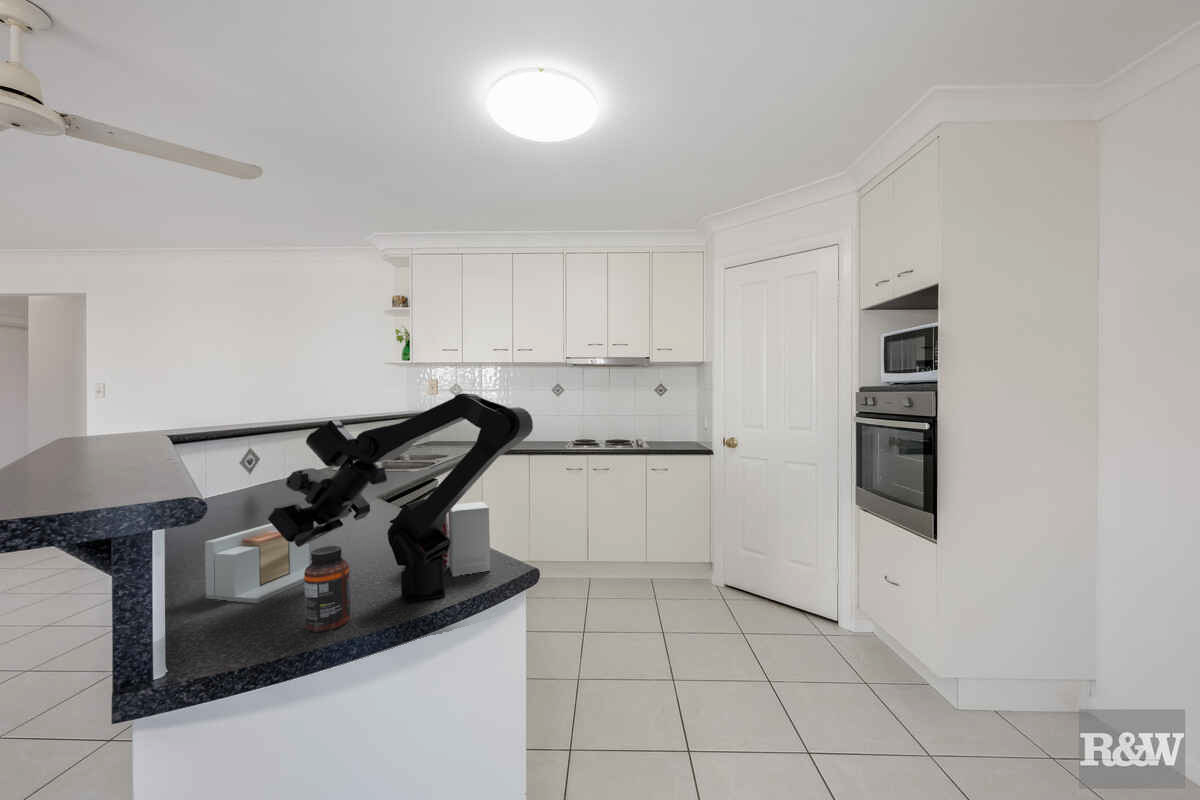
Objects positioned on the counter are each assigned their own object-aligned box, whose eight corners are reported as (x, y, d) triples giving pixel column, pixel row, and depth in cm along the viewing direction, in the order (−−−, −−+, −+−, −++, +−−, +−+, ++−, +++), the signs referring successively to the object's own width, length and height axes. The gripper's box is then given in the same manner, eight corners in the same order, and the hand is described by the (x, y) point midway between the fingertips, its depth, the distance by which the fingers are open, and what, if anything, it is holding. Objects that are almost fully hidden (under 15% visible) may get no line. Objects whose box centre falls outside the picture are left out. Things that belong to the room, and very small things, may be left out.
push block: (288, 573, 94) (288, 532, 94) (260, 584, 88) (260, 540, 88) (271, 572, 95) (270, 531, 95) (242, 583, 89) (242, 539, 89)
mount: (328, 571, 98) (327, 521, 98) (256, 603, 82) (256, 543, 82) (283, 568, 100) (283, 520, 100) (205, 599, 84) (205, 541, 84)
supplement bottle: (340, 612, 77) (339, 541, 78) (357, 622, 74) (356, 547, 74) (298, 626, 73) (297, 550, 73) (314, 637, 69) (313, 557, 69)
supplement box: (491, 572, 95) (489, 507, 95) (451, 577, 92) (450, 511, 92) (485, 561, 102) (484, 500, 102) (448, 566, 99) (447, 504, 99)
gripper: (355, 449, 98) (310, 503, 100) (275, 459, 80) (223, 526, 82) (391, 487, 96) (345, 542, 98) (317, 507, 78) (263, 574, 80)
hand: (298, 544), depth 90 cm, fingers closed
